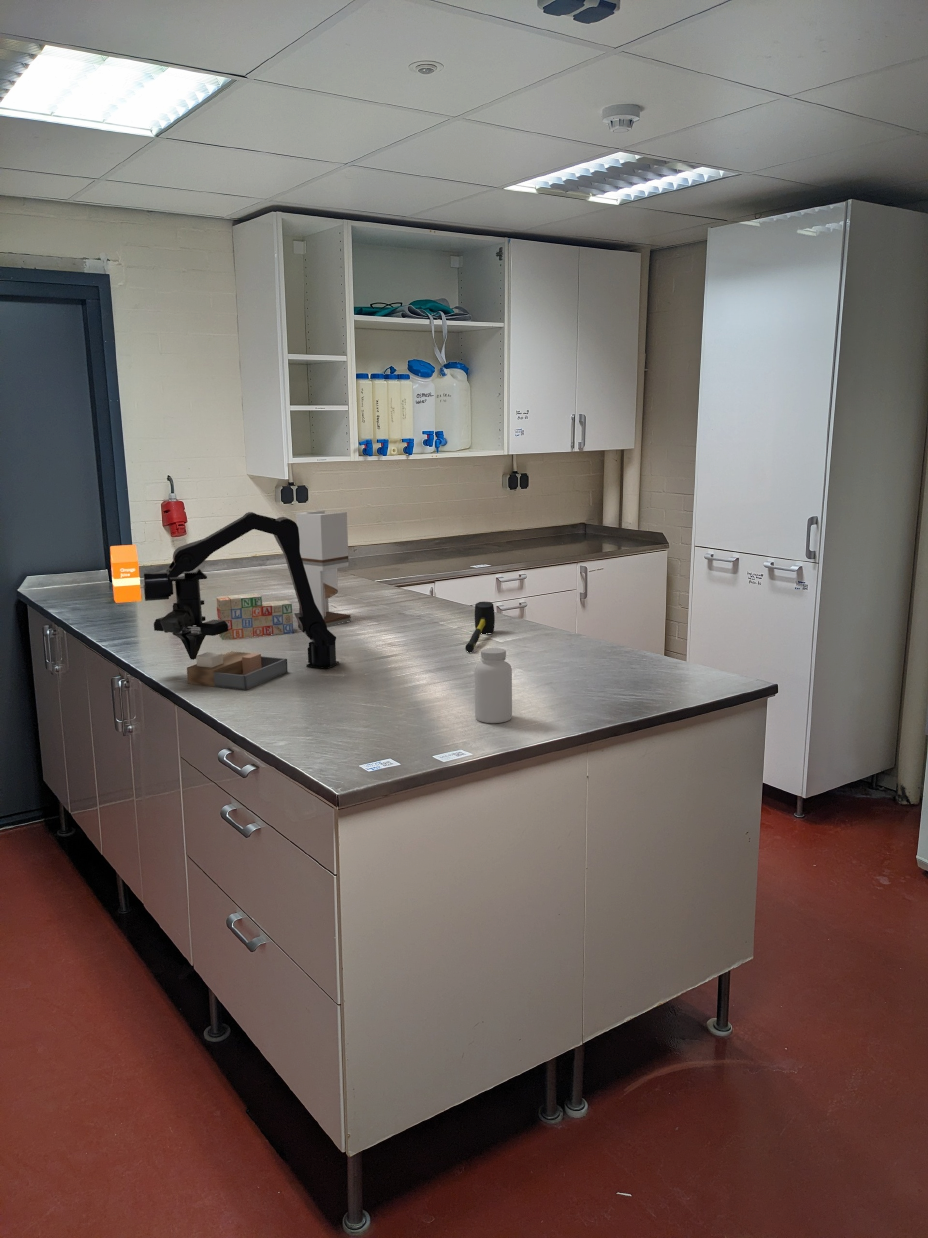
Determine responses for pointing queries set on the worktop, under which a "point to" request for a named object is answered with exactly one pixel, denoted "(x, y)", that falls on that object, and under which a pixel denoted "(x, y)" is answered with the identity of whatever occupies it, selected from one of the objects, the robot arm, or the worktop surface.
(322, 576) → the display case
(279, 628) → the stack of blocks
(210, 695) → the worktop surface
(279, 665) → the box
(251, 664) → the tile terracotta
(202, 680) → the walnut plate
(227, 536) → the robot arm
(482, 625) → the mallet
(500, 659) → the pill bottle
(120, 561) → the orange juice
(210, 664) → the tile cream
